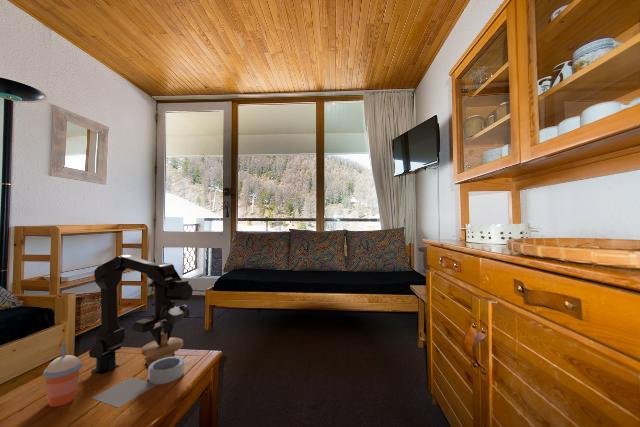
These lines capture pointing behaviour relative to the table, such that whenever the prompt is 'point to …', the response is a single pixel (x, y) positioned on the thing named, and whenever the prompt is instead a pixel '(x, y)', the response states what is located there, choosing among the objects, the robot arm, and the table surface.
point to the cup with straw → (62, 378)
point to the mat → (124, 392)
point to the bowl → (165, 370)
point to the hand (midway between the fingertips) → (162, 343)
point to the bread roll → (157, 358)
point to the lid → (162, 346)
